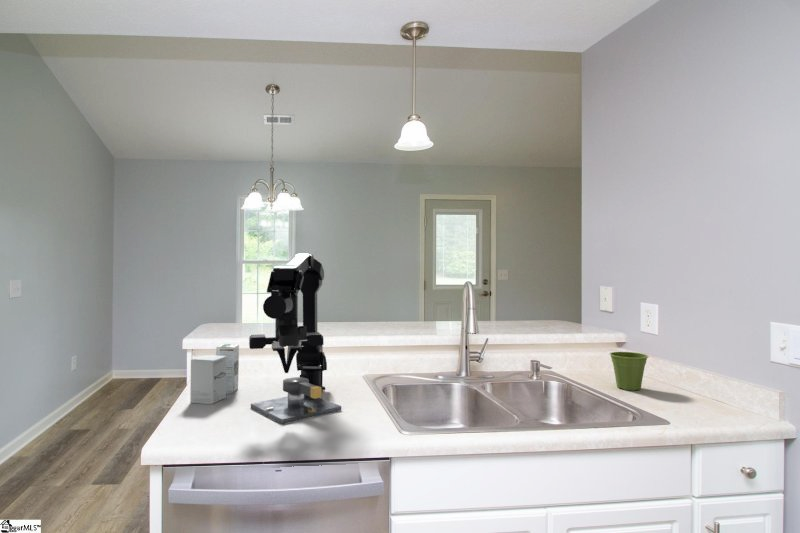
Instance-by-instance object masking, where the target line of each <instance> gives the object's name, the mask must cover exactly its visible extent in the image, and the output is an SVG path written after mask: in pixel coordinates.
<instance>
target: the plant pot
mask: <svg viewBox="0 0 800 533" xmlns="http://www.w3.org/2000/svg"><path fill="white" fill-rule="evenodd" d="M609 355H610V358H611V362H612V365H613V370H614V377H615V384H616V387H617V388H618V389H622V390H625V391H631V392H634V391H641V389H642V384H643V377H644V371H645V366H646V364H647V361H648V360H647V359H648V358H649V354H648V355H647V353H646V354H645V353H641V352H633V351H612V352H609Z"/></svg>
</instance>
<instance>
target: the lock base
mask: <svg viewBox="0 0 800 533" xmlns="http://www.w3.org/2000/svg"><path fill="white" fill-rule="evenodd" d="M250 409H252V410H254V411H256V412H257V413H259V414H262V415H264V416H265V417H268V418H269V419H271V420H274V421H275V422H276V423H279V424H281V425H285V424H288V423H289V424H290V423H294V422H298V421H301V420H306V419H310V418H314V417H319V416H323V415H326V414H327V415H328V414H332V413H336V412H340V411H341V412H342V405H339V404H338V403H335V402H331V401H329V400H327V399H324V398H322V397H320V398H316V399H314V398H311V397H310V396H307V395H304V394H302V393H299V392H298V393H289V392H287V396H284V397H278V398H271V399H269V400H268V399H267V400H263V401H262V400H261V401H257V402H252V403H250Z"/></svg>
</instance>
